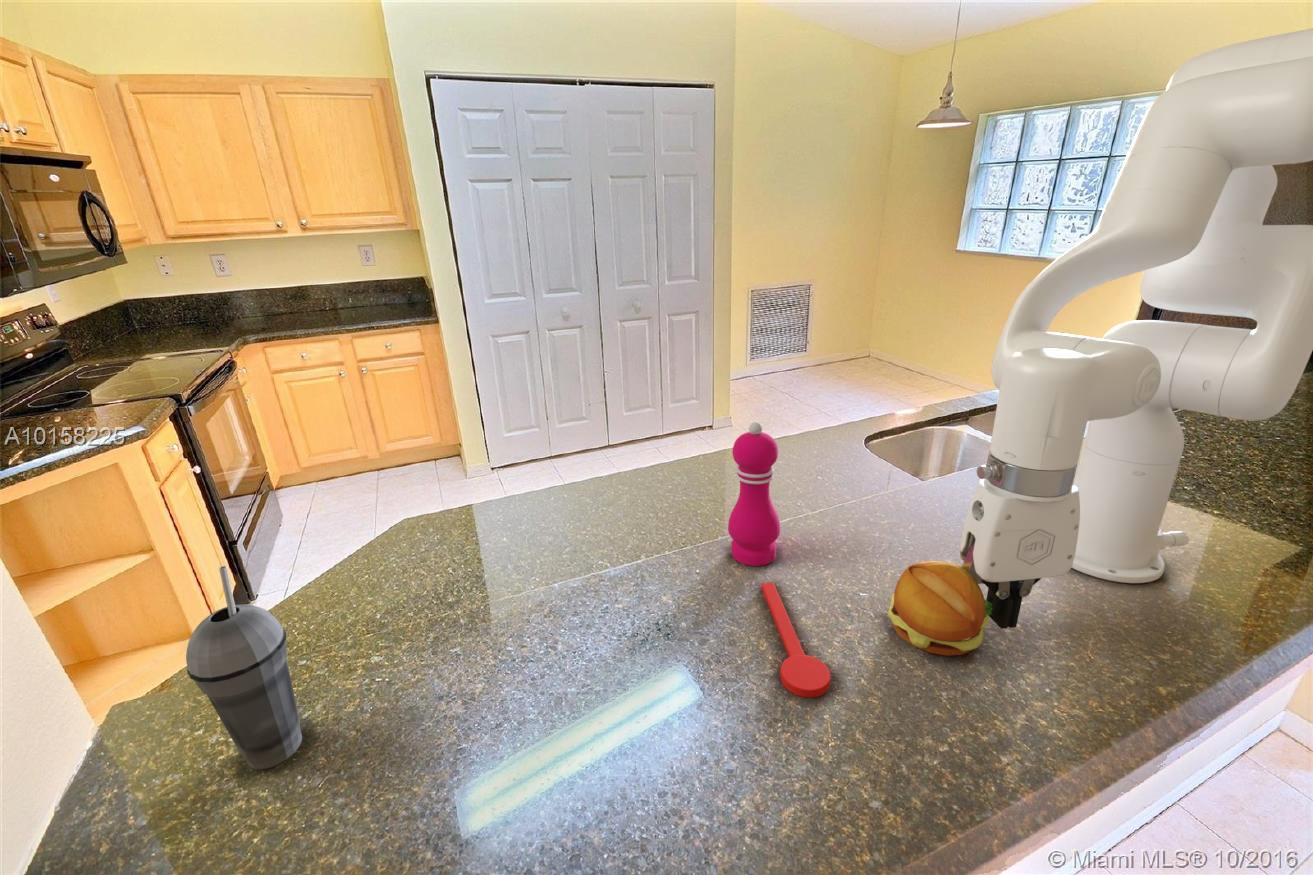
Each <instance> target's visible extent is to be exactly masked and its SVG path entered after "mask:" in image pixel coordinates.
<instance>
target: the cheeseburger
mask: <svg viewBox="0 0 1313 875" xmlns="http://www.w3.org/2000/svg"><path fill="white" fill-rule="evenodd" d="M890 599H891V602H890V607H889V608H888V610H887V616H888V618H889V619H890V621H891V624H892V628H893V629H894V630H895V632H896V633H897V635H898V636H899V637H900V638H902V639H903V640H904V641H906V642H907V643H909V644H910V645H911V646H913V647H915V648H918V649H920V650H923V651H925V652H928V653H930V654H935V655H941V656H946V657H947V656H948V657H950V656H960V655H965V654H967V653H969V652H970V651H973V650H976V649H977V648H978V647H979V646H980V645H981V644H982V643H983V640H984V629H985V628H986V627H987V626H988V625H989V621H990V617H989V615H991V609H992V608H991V607H990V606H993V605H992V604H991V603H990V602H988V601H986V599H985V596H984V593H983V590H982V589H981V587H980V584H978V583H977V581H976V579H975V578H974V577H973V576H972V575H971V574H969V573H968V572H967V571H966V569H964V568H962V566H961V565H958V564H956V563H952V562H947V561H940V560H925V561H919V562H915V563H913V564H911V565H909V566H907V568H906V569H905V570H904V571H903V572H902V574H901V575H900V577H899V578H898V579H897V582H896V586H895V589H894V592H893V593H892V594H891V598H890Z"/></svg>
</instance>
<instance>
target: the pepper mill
mask: <svg viewBox="0 0 1313 875" xmlns="http://www.w3.org/2000/svg"><path fill="white" fill-rule="evenodd" d="M731 452H732V458H733V461H734V462H735V463H736V464H737V466H736V467H735V472H736V474H735V477H736V479H737V480H738V481H739V493H738V498H737V501H736V502H735V505H734V507H733V508H732V511H731V512H730V516H729V518H728V525H727V531H728V534H729V536H730V537H731V539H732V540H731V550H730V551H731V556H732V558H733V559H734V560H735V561H736V562H738V563H740V564H742V565H746V566H750V567H760V566H765V565H768V564H771V563H772V562H773V561H774V560H775V559H776V556H777V543H776V540H777V539H778V538H779V536H780V534H781V522H780V518H779V515H778V513H777V510H776V508H775V506H774V504H773V502H772V499H771V495H770V494H771V493H770V484H771V481H773V479H774V472H775V468H774V466H773V465H774V464H775V463H776V462H777V460H778V457H779V447H778V444H777V442H776V440H775V438H774V437H773V436H771V435H770V434H768V433H766V432H763V425H762V424H761V423H760V422H758V421H752V422H751V423H750V424H749V426H748V431H747V432H744V433H742V434H740V435H739V436H738V437H737V438H736V439H735V441H734V443H733V446H732V451H731Z"/></svg>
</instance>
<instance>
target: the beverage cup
mask: <svg viewBox="0 0 1313 875" xmlns="http://www.w3.org/2000/svg"><path fill="white" fill-rule="evenodd" d="M218 569H219V574H220V579H221V583H222V588H223V592H224V597H225V603H226V606H225V607H222V608H220V609H217V610H215V611H214V612H212V613H210V614H209V615H208V616H206V617H205V618H204V619H203V620H201V622H200V623H199V624H197V627H195V629H194V630H193V632H192V633H191V635H190V637H189V640H188V643H187V647H186V653H185V662H186V666H187V668H186V672H187V673H186V674H187V675H188V677H189V679H191V680H193V681H194V683H195V684H196V686H197V687H198V688H199V690H200V691H201V692H202V694H204V695H206V696H207V698H208V700H209V702H210V703H211V705H212V707H213V708H214V710H215V712H216V713H217V715H218V717H219V719H220V721H221V722H222V724H223V726H224V727H225V729H226V731H227V733H228V734H229V736H230V738H231V739H232V741H233V743H234V745H235V746H236V748H237V750H238V752H239V753H240V756H241V757H243V758H244V760H245V762H246V764H247V766H248V767H249V768H251V769H253V770H267V769H271V768H274V767H275V766H278V765H280V764H281V763H283V762H285V761H286V760H288V759H289V758H290V757H291V756H293V754H295V753H296V751H297V750H298V749H299V747H300V746H301V744H302V742H303V734H302V731H301V720H300V716H299V711H298V706H297V701H296V696H295V692H294V687H293V682H292V676H291V672H290V669H289V668H290V667H289V664H288V659H287V658H288V651H287V632H286V630H285V629H284V628H283V627H282V624H281V623H280V621H279V620H278V619H277V618H276V617H275V616H274V615H273V614H272V613H271V612H270V611H269V610H267V609H266V608H262V607H260V606H257V605H254V604H243V603H242V604H241V603H240V604H236V603H235V600H234V595H233V591H232V586H231V581H230V576H229V572H228V566H227V565H222V566H220V567H219V568H218Z"/></svg>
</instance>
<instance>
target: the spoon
mask: <svg viewBox="0 0 1313 875" xmlns="http://www.w3.org/2000/svg"><path fill="white" fill-rule="evenodd" d="M760 586H761V587H760V588H761V590H762V593H763V596H764V599H765V601H766V603H767V606H768V608H769V611H770V614H771V616H772V618H773V621H774V624H775V626H776V629H777V632H778V634H779V637H780V639H781V642H782V644H783V646H784V650H785V651H786V654H787V656H788V657H787V658H786V659H785V660H783V662H782V663H781V666H780V674H779V675H780V681H781V683H782V685H783V687H784V688H785V689H786V690H787V691H788V692H790V693H792V694H794V695H796V696H798V697H802V698H807V699H810V698H818V697H820V696H822V695H824V694H825V693H827V692H828V690H829V689H830V686H831V671H830V669H829V668H828V666H827V665H826V664H825V663H824V662H823V661H821V660H820V659H818V658H817V657H814V656H810V655H806V654H805V652H804V650H803V647H802V645H801V643H800V641H799V638H798V636H797V634H796V631H795V629H794V627H793V624H792V622H791V620H790V618H789V615H788V613H787V611H786V608H785V605H784V604H783V601H782V598H781V597H780V594H779V592H778V589H777V588H776V585H775V583H774V582H761V585H760Z"/></svg>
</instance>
